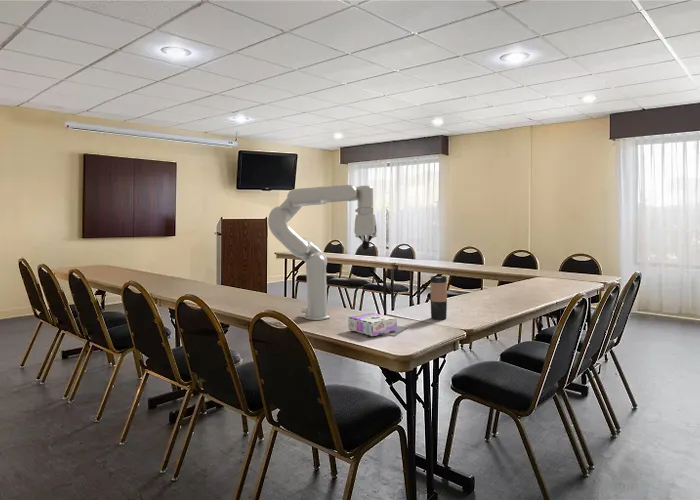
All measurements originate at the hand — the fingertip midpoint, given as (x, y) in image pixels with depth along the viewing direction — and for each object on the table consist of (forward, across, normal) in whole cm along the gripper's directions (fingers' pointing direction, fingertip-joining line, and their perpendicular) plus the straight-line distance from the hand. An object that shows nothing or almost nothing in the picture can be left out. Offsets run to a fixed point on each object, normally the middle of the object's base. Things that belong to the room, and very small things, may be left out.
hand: (366, 249), depth 241 cm
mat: (+33, +18, -22) cm, 43 cm away
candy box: (+30, +7, -23) cm, 38 cm away
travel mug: (+33, +33, +10) cm, 48 cm away
